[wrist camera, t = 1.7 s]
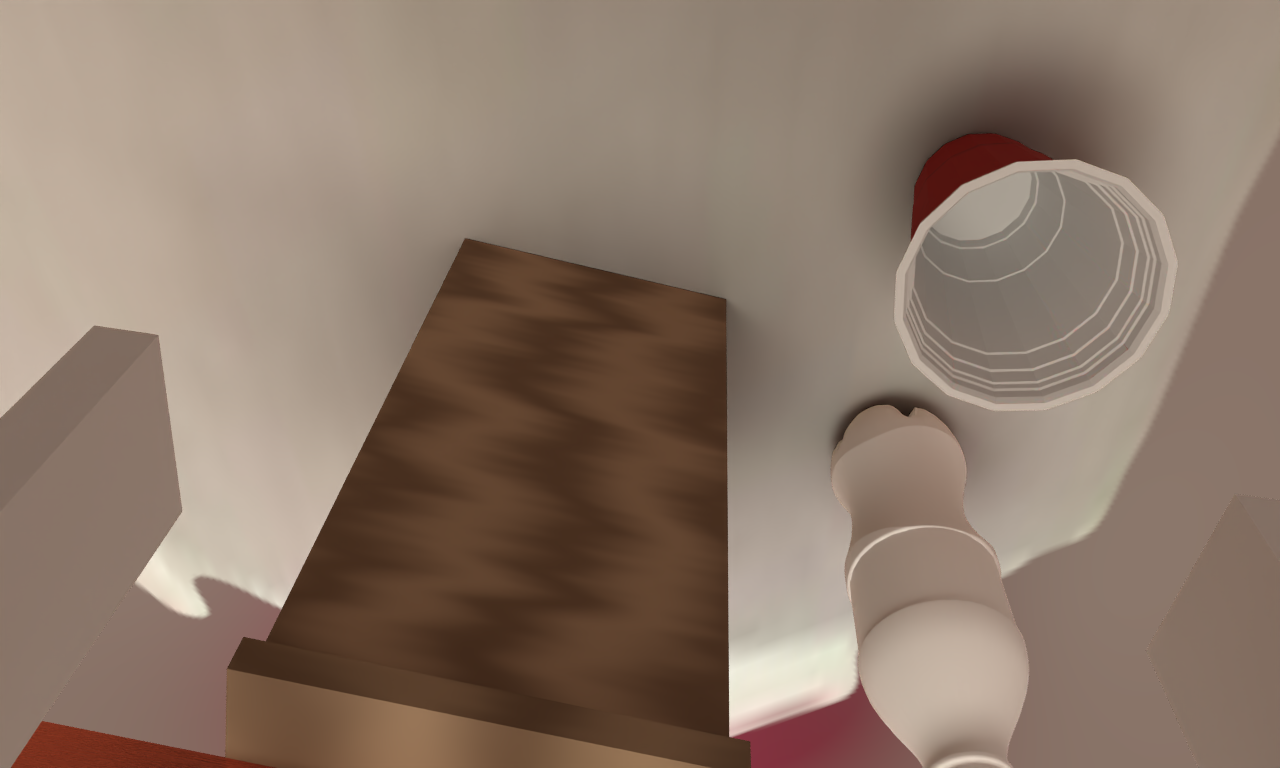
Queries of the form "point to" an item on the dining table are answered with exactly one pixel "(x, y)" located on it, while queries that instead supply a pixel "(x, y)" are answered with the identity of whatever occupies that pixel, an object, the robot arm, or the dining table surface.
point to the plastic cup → (1029, 275)
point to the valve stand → (518, 544)
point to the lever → (110, 752)
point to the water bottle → (927, 593)
